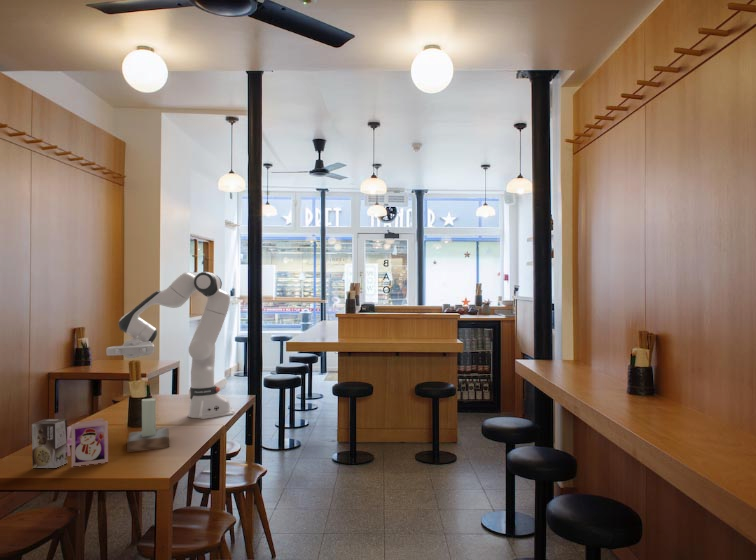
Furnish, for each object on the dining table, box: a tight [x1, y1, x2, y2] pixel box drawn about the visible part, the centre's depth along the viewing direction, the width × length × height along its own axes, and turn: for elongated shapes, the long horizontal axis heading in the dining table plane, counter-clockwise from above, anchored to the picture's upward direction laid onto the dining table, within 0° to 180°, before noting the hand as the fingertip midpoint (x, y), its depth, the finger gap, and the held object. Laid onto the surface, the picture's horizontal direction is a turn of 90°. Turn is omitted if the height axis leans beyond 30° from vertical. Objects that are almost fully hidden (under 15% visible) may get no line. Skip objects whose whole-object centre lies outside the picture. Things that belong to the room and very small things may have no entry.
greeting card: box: [71, 417, 109, 468], centre depth 185 cm, size 11×7×15 cm, turn 114°
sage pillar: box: [141, 397, 157, 437], centre depth 206 cm, size 5×5×14 cm
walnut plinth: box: [126, 427, 170, 453], centre depth 206 cm, size 15×15×4 cm
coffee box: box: [31, 418, 68, 469], centre depth 182 cm, size 9×6×16 cm
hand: (130, 351), depth 231 cm, fingers open, 8 cm apart
